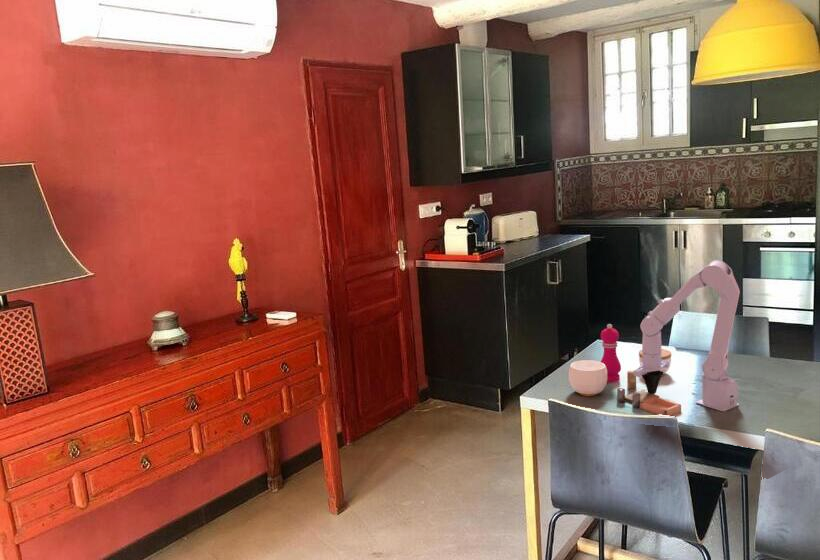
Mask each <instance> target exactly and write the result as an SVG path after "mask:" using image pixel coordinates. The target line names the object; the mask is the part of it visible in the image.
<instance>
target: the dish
mask: <svg viewBox="0 0 820 560" xmlns="http://www.w3.org/2000/svg"><path fill="white" fill-rule="evenodd" d="M639 410H642V411H645V412H647V411H648V412H647V413H650V414H654V415H656V414H662V415H671V416H674V415H676V414H679V413H681V412H682V404H680V403H677V402H674V401H670V400H668V399H665V398H661V397H660V396H659V397H653V398H650V399H647V400H645V401H642V402H640V408H639Z"/></svg>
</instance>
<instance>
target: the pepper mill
mask: <svg viewBox="0 0 820 560" xmlns="http://www.w3.org/2000/svg"><path fill="white" fill-rule="evenodd" d="M600 332H601V333H600V340H601V341H602V342H601V343H602V347H603V354H602V355H603V356H602V358H601V360H600V362H602V363H604V364H605V366H606V369H607V382H606V383H609V384H610V383H611V384H612V383H618V382H619V381H620V380H621V379H620V378H621V377H620V374H619V373H620V372H621V370H622V366H621V361H620V360H619V357H618V356H617V347H618V342H617V341H618V340H619V336H620V335H619V331H618V330H617V329H616V328H613V324H611V323H608V324H607V325H606V328H604V329H603V330H601V331H600Z"/></svg>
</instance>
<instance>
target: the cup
mask: <svg viewBox="0 0 820 560" xmlns="http://www.w3.org/2000/svg"><path fill="white" fill-rule="evenodd" d="M568 381H569V383H570V385H571V388H573V390H574V391H575V392H576V393H579V394H580V395H581V396H584V397H594V396H596V395H598V394H599V393H601V392H603V391H604V389H605V387H606V386H607V385H606V384H607V383H608V382H607V369H606V366H605V364H604V363H602V362H601V361H598V360H594V359H593V360H592V359H591V360H589V359H586V360H585V359H582V360H576V361H573V362H571V364H570V365H569V369H568Z"/></svg>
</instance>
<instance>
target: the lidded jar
mask: <svg viewBox="0 0 820 560" xmlns="http://www.w3.org/2000/svg"><path fill="white" fill-rule="evenodd" d="M638 356H639V357H638V359H639V364H640V363H642V349H641V350H639V351H638ZM663 360H665V361H669V367H668V368H666V367H665V368H662V369H661V370H660V371H662V372H663V376H664V375H665V374H666V373H667V372H668V371H669V370H670V367H671V364H672V362H671V361H672V352H671V351H670V350H668V349H665V348H661V361H663Z"/></svg>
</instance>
